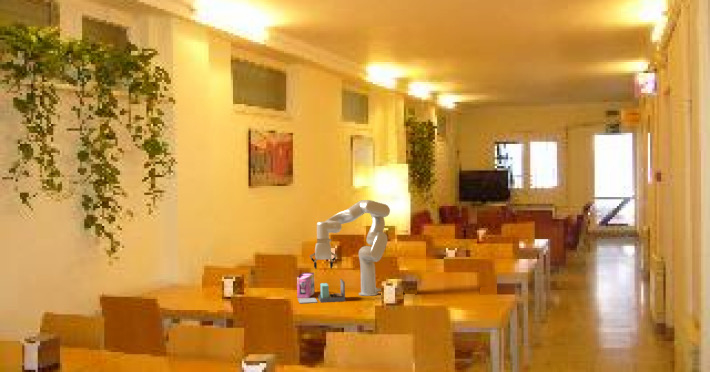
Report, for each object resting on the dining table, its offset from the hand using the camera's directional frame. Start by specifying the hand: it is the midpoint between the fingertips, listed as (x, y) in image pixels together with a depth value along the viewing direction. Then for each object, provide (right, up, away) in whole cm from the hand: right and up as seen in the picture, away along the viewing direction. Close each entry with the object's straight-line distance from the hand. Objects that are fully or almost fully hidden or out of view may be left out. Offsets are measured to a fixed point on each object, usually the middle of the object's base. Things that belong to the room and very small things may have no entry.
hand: (323, 268), depth 513 cm
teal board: (+1, -20, +1) cm, 20 cm away
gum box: (-12, -20, +23) cm, 33 cm away
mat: (-10, -21, -1) cm, 23 cm away
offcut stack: (+9, -20, +2) cm, 22 cm away
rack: (+5, -20, +1) cm, 21 cm away
